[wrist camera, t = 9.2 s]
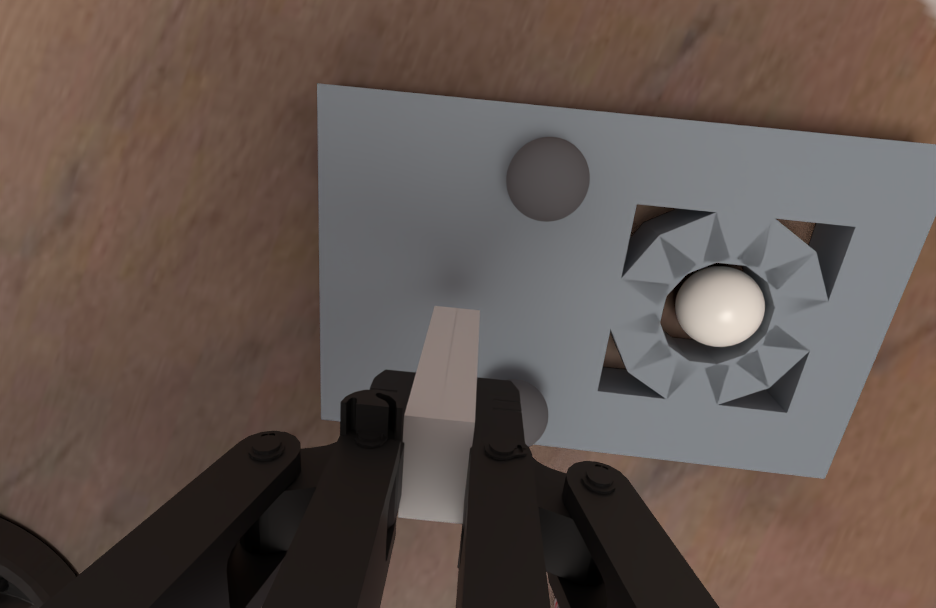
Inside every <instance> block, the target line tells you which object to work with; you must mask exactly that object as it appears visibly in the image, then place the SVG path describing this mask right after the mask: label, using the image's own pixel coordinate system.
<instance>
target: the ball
mask: <svg viewBox="0 0 936 608" xmlns="http://www.w3.org/2000/svg"><path fill="white" fill-rule="evenodd" d="M675 311H676V316H677V319H678V322H679V324H680V326H681V327H682V329H683V330H684V331H685V332H686V333H687V334H688V335H689V336H690V337H691V338H693V339H694V340H696V341H698V342H700V343H702V344H705V345H709V346H714V347H726V346H732V345H735V344H738V343H740V342H743V341H744V340H746V339H748V338H749V337H750V336H751V335H752V334H754V333H755V331H756V330H757V329H758V327H759V326H760V324H761V322H762V320H763V317H764V312H765V301H764V296H763V293H762V291H761V289H760V287H759V286H758V284H757V283H756V282H755V281H754V280H753V279H752V278H751V277H750V276H749V275H747V274H746V273H744V272H742V271H740V270H738V269H735V268H732V267H726V266H714V267H709V268H705V269H702V270H700V271H698V272H696V273H694V274H693V275H691V276H690V277H689V278H688V279H687V280H686V281H685V282H684V283H683V284H682V286H681V287H680V289H679V291H678V293H677V297H676V302H675Z"/></svg>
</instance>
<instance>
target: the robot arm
mask: <svg viewBox="0 0 936 608" xmlns="http://www.w3.org/2000/svg"><path fill="white" fill-rule="evenodd" d="M479 321H480V310H471V309H461V308H451V307H441V306H435V307H434V310H433V314H432V317H431V321H430V325H429V328H428V332H427V335H426V339H425V343H424V346H423V350H422V353H421V357H420V360H419V364H418V368H417V371H416V372H406V371H397V370H387V369H385V370H384V371H383V372H381V373H380V374H378V375H377V376H376V377H374V379H373V382H372V384H371V386H370V390H361V391H357V392H354V393H352V394H349V395H347V396H346V397H345V398H344V399H343V400H342V401H341V402H340V437H339V439H338V441H337V442H336V443H333V444H330V445H326V446H321V447H314V448H305V449H300V442H299V440H298V439H297V438H296V437H295V436H293V435H291V434H289V433H287V432H280V431H267V432H260V433H257V434H254V435H251V436H248V437H247V438H245V439H244V440H242V441H240V442H239V443H238V444H236V445H235V446H234V447H233V448H232V449H230V450H229V451H228V452H227V453H225V454H224V455H223V456H222V457H221V458H219V459H218V460H217V461H216V462H215V463H213V464H212V465H211V466H210V467H209V468H207V469H206V470H205V471H204V472H203V473H201V474H200V475H199V476H198V477H197V478H195V479H194V480H193V481H192V482H190V483H189V484H188V485H187V486H186V487H184V488H183V489H182V490H181V491H180V492H178V493H177V494H176V495H175V496H174V497H172V498H171V499H170V500H169V501H168V502H166V503H165V504H164V505H163V506H162V507H160V508H159V509H158V510H157V511H156V512H154V513H153V514H152V515H151V516H149V517H148V518H147V519H146V520H145V521H143V522H142V523H141V524H140V525H139V526H137V527H136V528H135V529H134V530H133V531H131V532H130V533H129V534H128V535H127V536H125V537H124V538H123V539H122V540H121V541H119V542H118V543H117V544H116V545H114V546H113V547H112V548H111V549H110V550H108V551H107V552H106V553H105V554H104V555H102V556H101V557H100V558H99V559H98V560H96V561H95V562H94V563H93V564H92V565H90V566H89V567H88V568H87V569H86V570H84V571H83V572H82V573H81V574H79V575H78V576H77V577H76V576H75V574H74V573H73V572H72V570H71V569H70V568H69V567H68V566H67V564H66V563H65V562H64V561H63V560H62V559H61V558H60V557H59V556H58V555H57V554H56V553H55V552H54V551H52V550H51V549H50V548H49V547H48V546H47V545H45V544H44V543H43V542H41V541H40V540H39V539H37V538H36V537H34V536H33V535H31V534H30V533H28V532H27V531H25V530H23V529H22V528H20V527H18V526H16V525H14V524H12V523H10V522H8V521H6V520H4V519H2V518H0V608H261V607H262V608H380V604H381V600H382V595H383V590H384V586H385V581H386V577H387V572H388V567H389V563H390V558H391V554H392V549H393V544H394V540H395V534H396V517H397V513H398V508H399V513H398V517H399V518H409V519H418V520H428V521H438V522H448V523H458V524H462V533H461V542H460V551H459V559H458V568H459V571H458V585H457V600H456V608H550V600H549V592H548V584H547V575H546V572H547V573H548V579H549V583H550V585H551V588H552V590H553V593H554V595H555V598H556V600H557V603H558V605H559V608H719V606H718V605H717V604H716V602H715V601H714V599H713V598H712V597H711V595H710V594H709V592H708V591H707V590H706V588H705V587H704V585H703V584H702V583H701V581H700V580H699V578H698V577H697V576H696V574H695V573H694V571H693V570H692V569H691V567H690V566H689V564H688V563H687V562H686V560H685V559H684V557H683V556H682V555H681V553H680V552H679V550H678V549H677V548H676V546H675V545H674V543H673V542H672V541H671V539H670V538H669V536H668V535H667V534H666V532H665V531H664V529H663V528H662V527H661V525H660V524H659V522H658V521H657V520H656V518H655V517H654V515H653V514H652V513H651V511H650V510H649V508H648V507H647V506H646V504H645V503H644V501H643V500H642V499H641V497H640V496H639V494H638V493H637V492H636V490H635V489H634V487H633V486H632V485H631V483H630V482H629V480H628V479H627V478H626V477H625V476H624V475H623V474H622V473H621V472H620V471H618V470H616V469H614V468H613V467H611V466H609V465H606V464H603V463H599V462H592V461H583V462H578V463H575V464H574V465H572V466H571V467H569V468H568V471H567V474H566V473H563V472H560V471H557V470H554V469H551V468H549V467H546V466H544V465H542V464H541V463H539V462H537V461H536V460H535V459H534V458H533V457H532V453H531V451H530V449H529V447H528V446H527V445H526V444H525V438H524V429H523V419H522V413H521V411H522V410H521V404H520V402H521V401H520V392H519V390H518V389H517V387H516V386H515V385H514V384H513V383H512V381H509V380H499V379H489V378H479V377H477V365H478V343H479Z"/></svg>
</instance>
